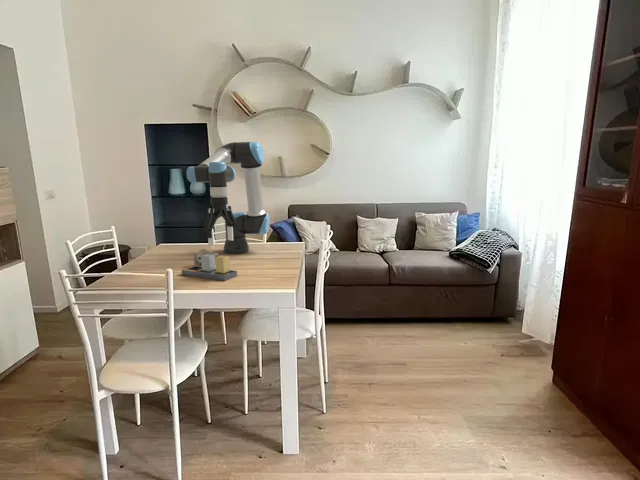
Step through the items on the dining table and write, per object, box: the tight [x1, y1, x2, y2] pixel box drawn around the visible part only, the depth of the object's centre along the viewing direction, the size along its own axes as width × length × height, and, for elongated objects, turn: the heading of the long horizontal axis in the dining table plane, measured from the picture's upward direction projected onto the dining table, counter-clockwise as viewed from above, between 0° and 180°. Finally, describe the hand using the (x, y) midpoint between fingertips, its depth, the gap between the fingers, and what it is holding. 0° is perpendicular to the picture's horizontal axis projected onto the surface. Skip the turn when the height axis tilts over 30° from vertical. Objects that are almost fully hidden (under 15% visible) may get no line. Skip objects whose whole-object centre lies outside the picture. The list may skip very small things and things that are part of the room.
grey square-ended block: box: [201, 254, 216, 273], centre depth 200 cm, size 4×4×10 cm
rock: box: [193, 248, 220, 266], centre depth 218 cm, size 12×7×10 cm, turn 93°
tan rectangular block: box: [215, 254, 231, 275], centre depth 196 cm, size 4×4×10 cm
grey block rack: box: [181, 264, 238, 282], centre depth 200 cm, size 9×26×3 cm, turn 64°
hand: (221, 242), depth 194 cm, fingers open, 13 cm apart
